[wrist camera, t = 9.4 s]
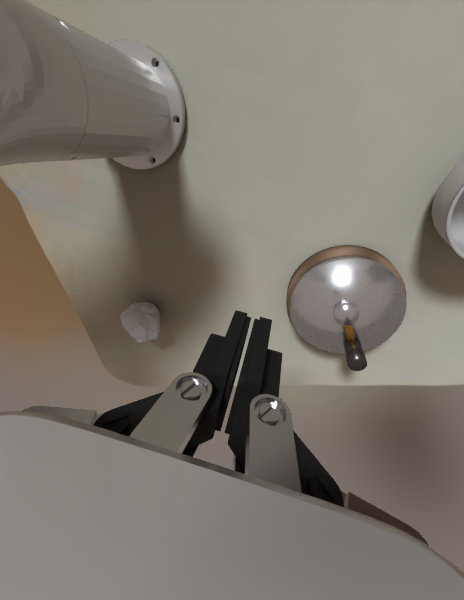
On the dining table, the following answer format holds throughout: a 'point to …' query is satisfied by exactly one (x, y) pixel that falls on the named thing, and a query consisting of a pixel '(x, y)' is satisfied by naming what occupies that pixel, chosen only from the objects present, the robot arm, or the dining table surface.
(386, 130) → the dining table surface
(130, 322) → the grey lumpy ball
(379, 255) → the plinth
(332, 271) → the handwheel
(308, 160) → the dining table surface
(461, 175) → the teacup
